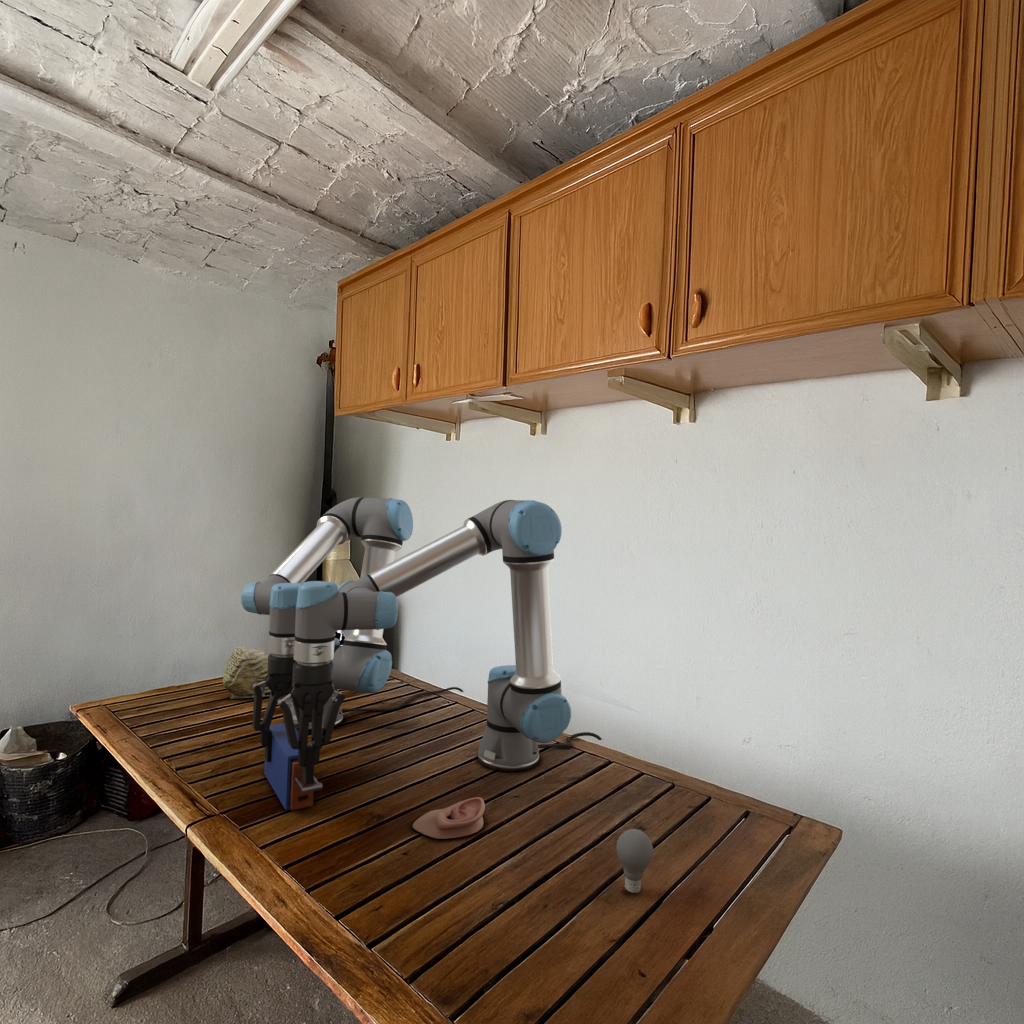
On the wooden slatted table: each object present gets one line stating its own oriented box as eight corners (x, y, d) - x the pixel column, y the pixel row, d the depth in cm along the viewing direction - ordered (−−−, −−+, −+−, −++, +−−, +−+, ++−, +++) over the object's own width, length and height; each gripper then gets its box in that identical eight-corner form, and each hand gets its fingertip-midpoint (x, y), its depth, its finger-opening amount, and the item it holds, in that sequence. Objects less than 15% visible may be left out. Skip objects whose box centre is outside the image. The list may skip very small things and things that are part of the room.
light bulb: (610, 879, 108) (613, 822, 108) (644, 879, 109) (647, 822, 109) (619, 902, 102) (622, 840, 102) (655, 901, 103) (658, 840, 103)
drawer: (322, 819, 123) (324, 771, 123) (300, 824, 121) (302, 776, 121) (289, 771, 143) (291, 730, 143) (270, 775, 141) (271, 733, 141)
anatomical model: (407, 813, 120) (427, 787, 131) (406, 834, 120) (426, 806, 131) (475, 823, 117) (489, 796, 129) (474, 845, 117) (488, 815, 129)
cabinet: (312, 804, 130) (314, 751, 130) (285, 810, 127) (287, 756, 127) (288, 769, 146) (290, 721, 146) (264, 773, 143) (266, 725, 143)
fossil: (218, 695, 195) (220, 647, 195) (278, 685, 208) (279, 640, 207) (228, 703, 189) (230, 653, 188) (289, 692, 201) (290, 645, 201)
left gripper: (245, 661, 132) (241, 771, 133) (332, 653, 143) (328, 755, 143) (238, 653, 139) (234, 758, 139) (322, 646, 149) (318, 744, 149)
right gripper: (284, 669, 117) (277, 796, 117) (352, 662, 124) (346, 782, 124) (274, 659, 123) (268, 780, 123) (340, 654, 130) (334, 767, 131)
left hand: (282, 756), depth 141 cm, fingers closed on cabinet, 5 cm apart
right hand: (307, 781), depth 124 cm, fingers closed
